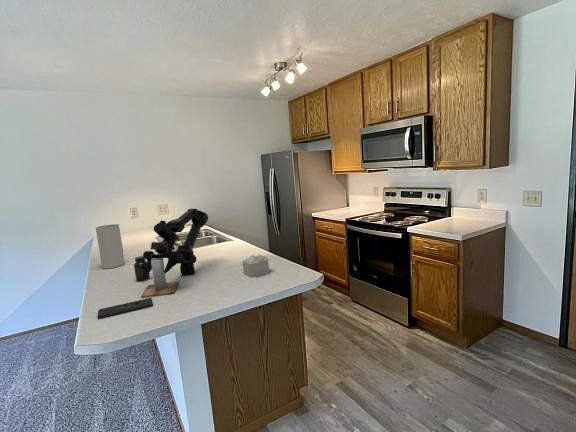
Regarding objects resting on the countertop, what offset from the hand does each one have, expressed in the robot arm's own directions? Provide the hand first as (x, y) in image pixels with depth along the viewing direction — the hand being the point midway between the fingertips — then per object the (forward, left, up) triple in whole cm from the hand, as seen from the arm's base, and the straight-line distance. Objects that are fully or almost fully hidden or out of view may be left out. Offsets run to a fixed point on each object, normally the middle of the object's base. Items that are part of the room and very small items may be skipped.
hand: (156, 272), depth 148 cm
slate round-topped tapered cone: (-1, -1, -8) cm, 8 cm away
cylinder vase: (+38, -58, -9) cm, 70 cm away
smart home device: (+10, +16, -10) cm, 21 cm away
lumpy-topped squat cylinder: (-47, -9, -9) cm, 48 cm away
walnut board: (-1, -1, -9) cm, 9 cm away
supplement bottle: (+12, -22, -9) cm, 27 cm away
